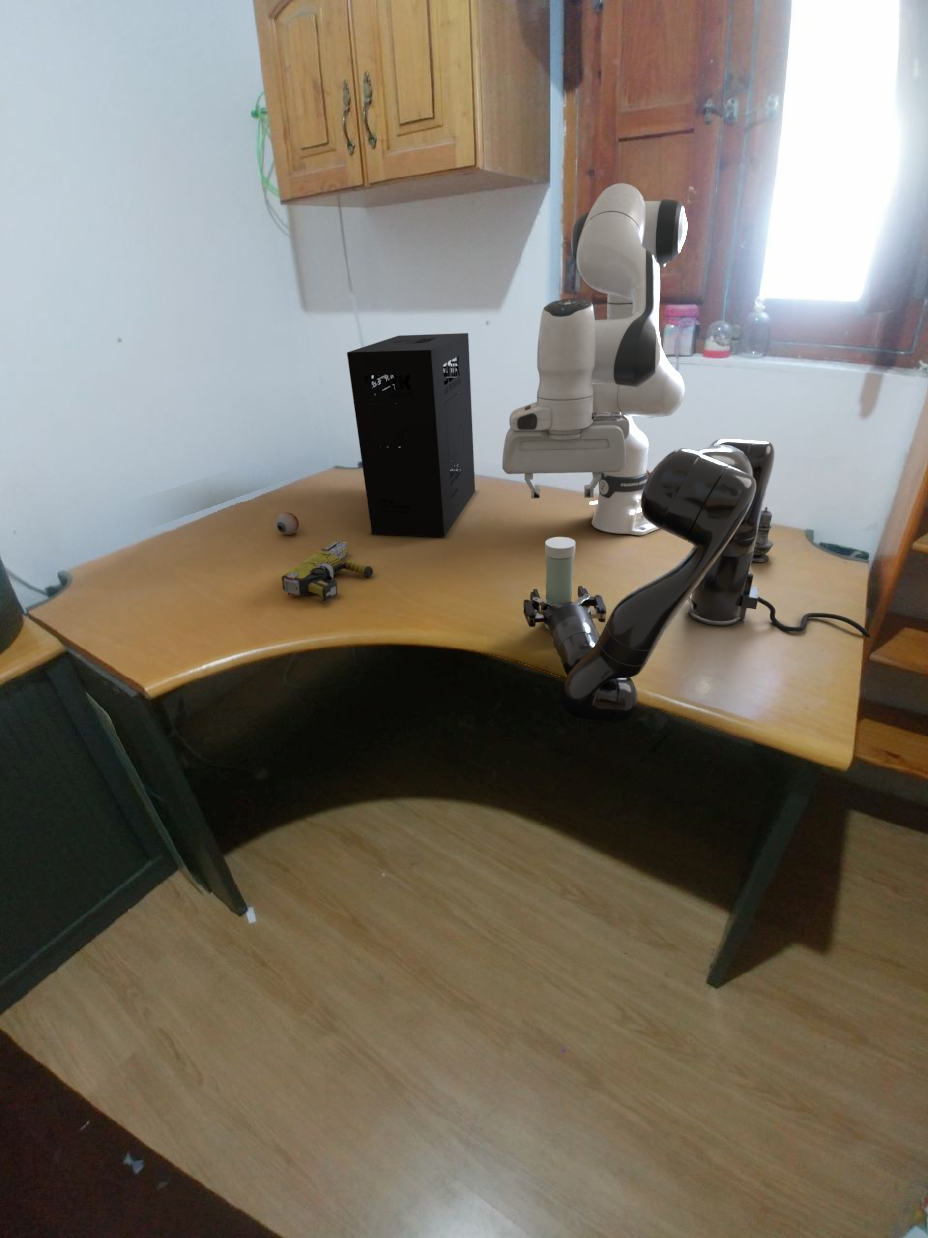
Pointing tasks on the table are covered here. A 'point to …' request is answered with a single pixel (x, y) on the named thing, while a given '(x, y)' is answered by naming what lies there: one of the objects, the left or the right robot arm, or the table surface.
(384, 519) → the black boxy piece
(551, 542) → the lid
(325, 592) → the toy gun
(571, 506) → the table surface
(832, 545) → the table surface
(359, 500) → the table surface
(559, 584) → the jar
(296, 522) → the eyeball
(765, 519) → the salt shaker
